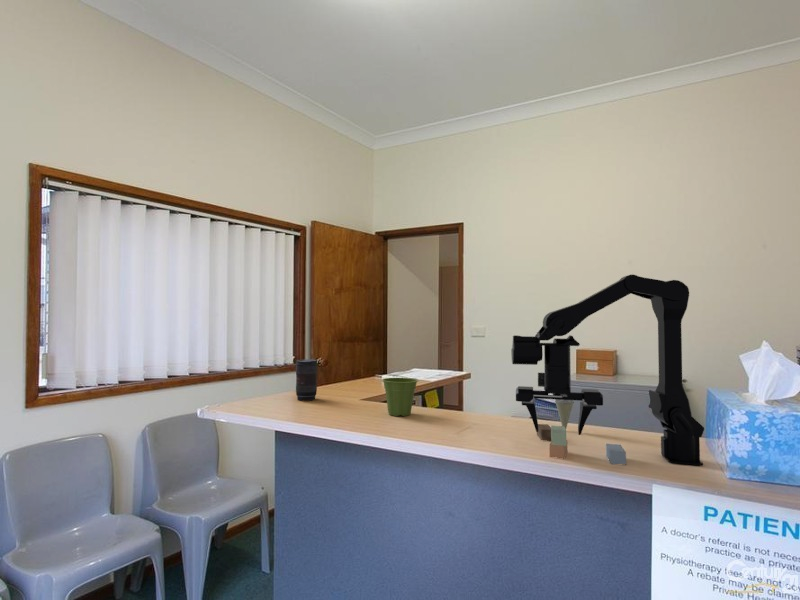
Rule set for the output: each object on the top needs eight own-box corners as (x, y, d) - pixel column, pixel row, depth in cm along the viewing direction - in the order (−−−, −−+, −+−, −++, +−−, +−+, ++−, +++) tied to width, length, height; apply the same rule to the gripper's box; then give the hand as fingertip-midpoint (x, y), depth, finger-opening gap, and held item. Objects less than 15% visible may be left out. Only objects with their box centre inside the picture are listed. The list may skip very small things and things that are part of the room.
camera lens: (291, 400, 173) (292, 360, 174) (302, 397, 181) (302, 359, 182) (310, 401, 171) (311, 361, 172) (320, 398, 179) (321, 359, 179)
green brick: (564, 439, 108) (564, 426, 108) (566, 446, 102) (566, 432, 102) (551, 438, 109) (551, 425, 109) (552, 444, 103) (552, 431, 103)
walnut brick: (548, 435, 123) (547, 424, 124) (553, 441, 117) (553, 429, 118) (536, 435, 124) (536, 424, 124) (541, 441, 118) (541, 429, 118)
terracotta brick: (567, 452, 107) (567, 439, 107) (563, 459, 102) (563, 446, 102) (554, 451, 109) (554, 438, 109) (549, 457, 103) (549, 444, 104)
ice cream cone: (551, 429, 129) (550, 376, 130) (565, 428, 131) (565, 375, 132) (563, 433, 124) (562, 378, 125) (578, 432, 126) (577, 377, 127)
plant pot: (413, 419, 142) (413, 382, 142) (376, 417, 145) (377, 381, 145) (421, 412, 153) (421, 378, 154) (387, 409, 156) (388, 376, 157)
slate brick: (620, 458, 104) (620, 444, 104) (626, 466, 98) (625, 452, 98) (606, 456, 104) (606, 443, 104) (610, 464, 99) (610, 450, 99)
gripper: (595, 363, 112) (596, 428, 111) (516, 361, 117) (517, 423, 116) (602, 367, 101) (603, 439, 100) (515, 365, 106) (515, 433, 105)
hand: (558, 433), depth 106 cm, fingers open, 9 cm apart
